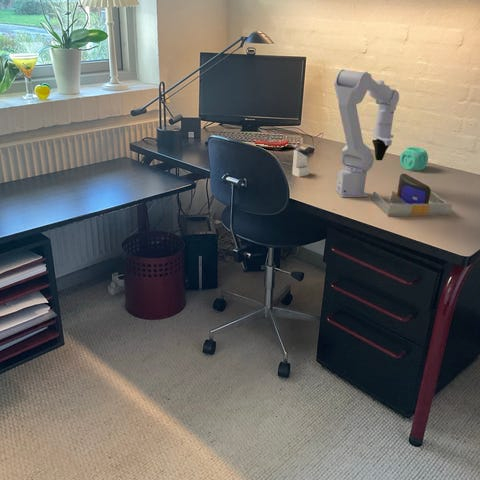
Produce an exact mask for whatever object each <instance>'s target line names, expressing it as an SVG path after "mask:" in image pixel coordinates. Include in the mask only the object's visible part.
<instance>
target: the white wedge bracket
mask: <svg viewBox="0 0 480 480" xmlns="http://www.w3.org/2000/svg"><path fill="white" fill-rule="evenodd" d="M292 158H293V160H292V161H293V162H292V174H291V175H293V176H296V177H298V178H300V177H304V176H308V175H310V171H311V166H309V165H308V164H307V162H308V156H307V155H306V154H303V152H301V151H299V150H297V149H293V157H292Z"/></svg>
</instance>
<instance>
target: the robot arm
mask: <svg viewBox="0 0 480 480" xmlns="http://www.w3.org/2000/svg"><path fill="white" fill-rule="evenodd" d="M333 86H334V90H335V94H336V99H337V100H338V103H337V104H338V108H339V114H340V119H341V124H342V128H343V133H344V137H345V141H346V144H345V146H344V147H343V148H342V150H341V163H342V165H343V166H344V167H343V168H344V169H339V170H338V173H337V180H336V188H335V191H336V192H337V193H338V195H340V196H341V198H358V197H359V198H362V197H363V198H367V197H368V194H367V193H366V192H365V186H366V181H367V174H368V171H370V170H371V168H372V167H373V165H374V162H375V160H376V161H383V159H384V157H385V154H386V152H387V150H388V148H389V147H390V146H392V143H393V140H392V139H394V135H393V134H392V128H393V121H394V113H395V111H396V109H397V105H398V103H399V101H400V94H399V91H398V90H397V89H392V88H390V85H387V84H385V81H384V80H377V81H376V80H375V79H374V78H373V77H372V74H371V73H369V72H367V71H365V72H364V71H357V70H355V71H354V70H347V69H344V68H342V69H340V70H339V71H338V72H337V74H336V76H335V80H334V85H333ZM367 92H368V95H369V96H370V97H371V98H372V99H374V100H375V103H376V104H377V111H376V119H375V120H376V121H375V126H374V130H372V136H373V138H374V139H372V141H371V142H372V144H373V148H374V155H375V156H374V155H373V153H372V152H371V148H370V147H369V146H367V144H365V143H364V140H363V136H362V135H363V134H362V130H361V129H362V128H361V123H360V119H359V118H360V117H359V112H358V109H357V105H358V104H361V103H362V101H363V100H364V98H365V96H366V95H367ZM374 157H375V158H374Z"/></svg>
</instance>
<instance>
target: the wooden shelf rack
mask: <svg viewBox="0 0 480 480" xmlns="http://www.w3.org/2000/svg"><path fill="white" fill-rule="evenodd" d="M390 201H391V202H392V203H388V202H387V201H386V200H384V198H383V197H381V196H380V195H379V194H378V193H377V192H376V191H373V192H372V198H371V202H373V203H374V204H375V205H376V206H377V207H378V208H379V209H380V210H381V211H382V212H383V213H384V214H385V215H386V216H387V217H412V216H414V217H415V216H416V217H418V216H422V217H423V216H424V217H425V216H426V215H427V216H451V213H452V207H453V203H452V202H447V201H446V200H444V199H443V198H442V197H440V196H439V195H438V194H436V193H435V192H433V190H432V191H431V192H430V198H429V203H407V202H405V201H404V200H403V199H402V198H401V197H400V196H399V195H398V194H397V192H396V191H394V190H393V191H391V198H390Z"/></svg>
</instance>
